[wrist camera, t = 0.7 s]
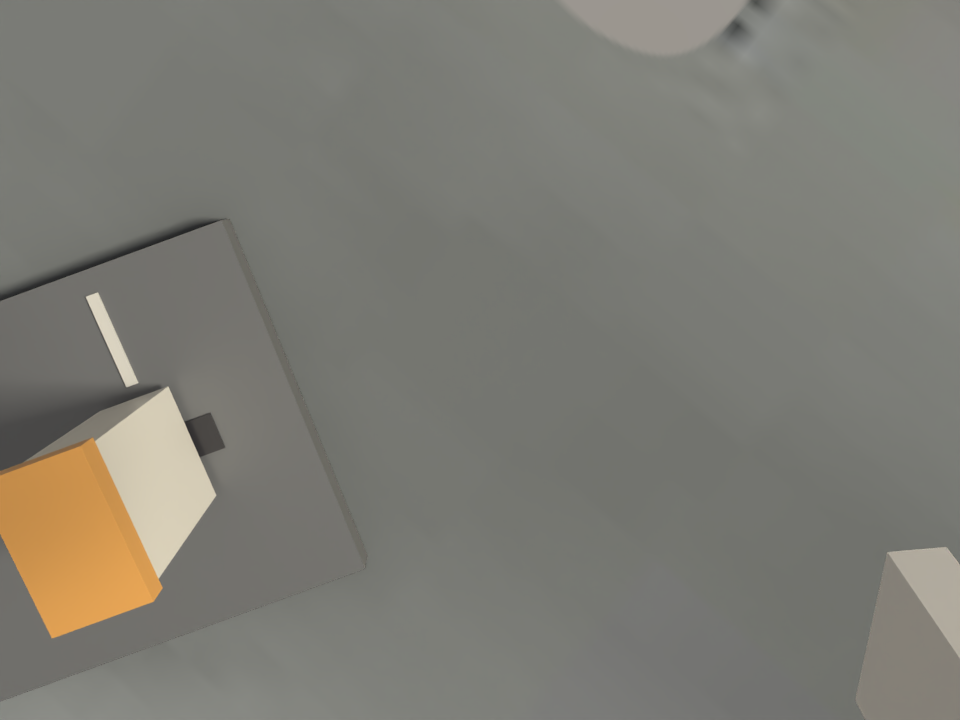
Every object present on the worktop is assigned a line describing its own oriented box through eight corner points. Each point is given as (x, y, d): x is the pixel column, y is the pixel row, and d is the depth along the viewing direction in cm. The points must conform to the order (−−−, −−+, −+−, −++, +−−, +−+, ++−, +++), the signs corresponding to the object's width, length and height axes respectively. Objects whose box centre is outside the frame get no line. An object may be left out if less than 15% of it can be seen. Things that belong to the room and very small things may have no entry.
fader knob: (222, 498, 38) (153, 601, 28) (146, 525, 38) (52, 638, 28) (170, 380, 37) (80, 446, 27) (92, 408, 37) (-25, 484, 27)
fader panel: (367, 555, 41) (365, 570, 39) (-170, 750, 41) (-194, 772, 39) (229, 218, 38) (220, 219, 36) (-351, 431, 38) (-384, 441, 36)
